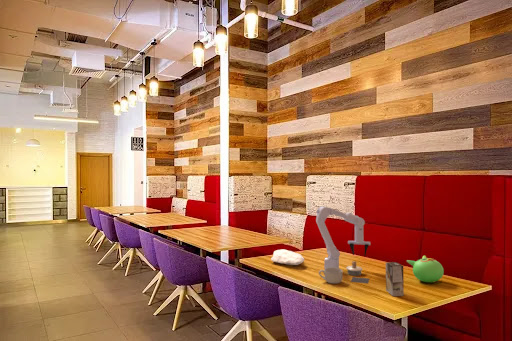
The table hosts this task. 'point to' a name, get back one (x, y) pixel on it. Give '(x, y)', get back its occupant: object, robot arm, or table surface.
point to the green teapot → (427, 269)
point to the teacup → (332, 275)
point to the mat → (360, 280)
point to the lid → (354, 267)
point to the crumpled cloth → (287, 257)
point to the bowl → (354, 273)
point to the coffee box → (394, 279)
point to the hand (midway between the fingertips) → (359, 255)
